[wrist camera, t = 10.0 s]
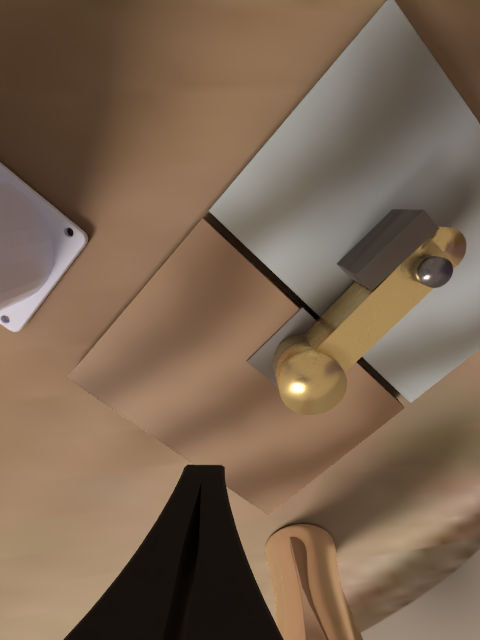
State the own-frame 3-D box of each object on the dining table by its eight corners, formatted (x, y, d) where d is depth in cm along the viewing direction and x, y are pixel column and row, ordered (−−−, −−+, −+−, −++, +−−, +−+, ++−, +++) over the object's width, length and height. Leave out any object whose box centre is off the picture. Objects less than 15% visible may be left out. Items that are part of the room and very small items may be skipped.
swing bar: (302, 396, 20) (315, 431, 17) (260, 364, 20) (266, 395, 16) (451, 250, 17) (501, 260, 14) (410, 206, 17) (452, 206, 13)
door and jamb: (75, 368, 21) (39, 406, 17) (379, 11, 15) (430, -59, 11) (266, 501, 26) (272, 555, 22) (560, 266, 20) (643, 281, 16)
